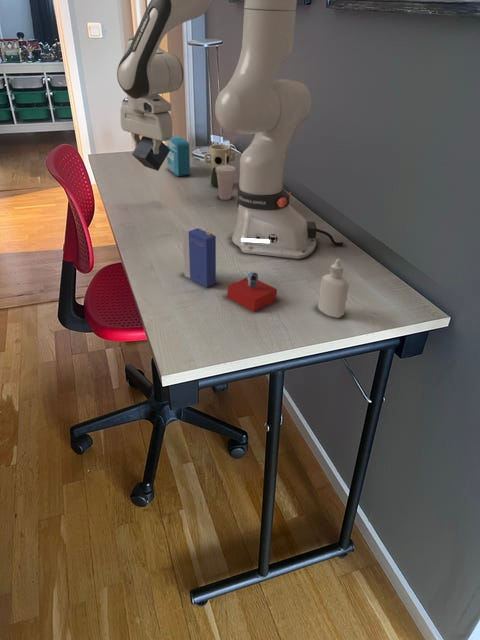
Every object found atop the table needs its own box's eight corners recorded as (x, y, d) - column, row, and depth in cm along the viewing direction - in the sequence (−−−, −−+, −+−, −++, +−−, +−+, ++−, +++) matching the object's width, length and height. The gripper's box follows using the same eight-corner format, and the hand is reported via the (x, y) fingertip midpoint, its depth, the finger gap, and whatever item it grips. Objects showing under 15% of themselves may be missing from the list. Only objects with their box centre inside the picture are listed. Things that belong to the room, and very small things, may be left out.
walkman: (216, 283, 114) (215, 234, 107) (206, 287, 112) (206, 237, 106) (193, 272, 119) (192, 224, 112) (184, 275, 117) (182, 227, 110)
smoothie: (236, 195, 166) (236, 151, 158) (233, 201, 160) (234, 157, 153) (216, 194, 166) (216, 150, 158) (214, 200, 161) (213, 156, 153)
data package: (167, 168, 189) (165, 135, 183) (178, 167, 191) (177, 134, 185) (178, 177, 180) (177, 143, 174) (190, 176, 182) (189, 142, 176)
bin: (158, 170, 153) (145, 158, 148) (144, 166, 156) (131, 154, 151) (170, 150, 153) (157, 137, 148) (157, 146, 157) (144, 133, 152)
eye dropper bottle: (334, 304, 107) (342, 252, 101) (346, 317, 103) (354, 265, 96) (315, 306, 106) (322, 254, 100) (326, 320, 102) (333, 267, 95)
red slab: (227, 297, 109) (227, 271, 105) (249, 287, 113) (250, 261, 110) (254, 311, 104) (255, 284, 101) (275, 300, 108) (277, 274, 105)
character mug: (208, 190, 169) (207, 150, 162) (201, 183, 175) (201, 145, 168) (238, 187, 173) (239, 148, 166) (231, 180, 178) (231, 143, 171)
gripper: (112, 97, 147) (117, 146, 155) (157, 108, 136) (160, 159, 143) (130, 95, 151) (134, 143, 159) (175, 105, 140) (177, 155, 147)
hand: (147, 151), depth 151 cm, fingers closed on bin, 6 cm apart
